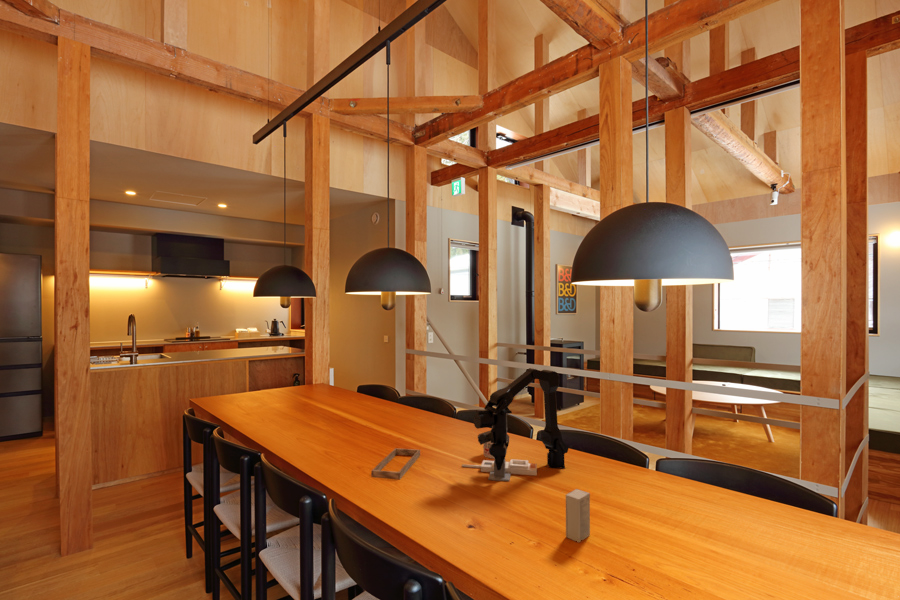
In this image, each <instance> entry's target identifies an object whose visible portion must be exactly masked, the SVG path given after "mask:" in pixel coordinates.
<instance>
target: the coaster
mask: <svg viewBox="0 0 900 600" xmlns="http://www.w3.org/2000/svg"><path fill="white" fill-rule="evenodd" d="M511 475H512V474H511V472H505V477H494V471H491V472H489V475H488V477H487V478H488V480H489V481H497V482H498V481H499V482H510V481H511Z"/></svg>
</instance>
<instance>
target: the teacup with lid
mask: <svg viewBox="0 0 900 600" xmlns="http://www.w3.org/2000/svg"><path fill="white" fill-rule="evenodd" d="M492 444H493V443H491V441H490V442H487V443H484V444H482V446H483V456H484V457H485V458H488V459H494V457H493V456H492V455H490V454H489V448H490V446H491V445H492Z"/></svg>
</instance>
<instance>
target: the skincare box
mask: <svg viewBox="0 0 900 600" xmlns="http://www.w3.org/2000/svg"><path fill="white" fill-rule="evenodd" d="M590 495H591V493H590V492H588V491H585V490H582V489H578V488H575V489H574V490H572V491H569V492H568V493H567V494H565V538H568V539H569V540H571V541H574V542H576V541H577V543H581V542H582V541H583V540H585V539H587V538H588V537H589V536H591V518H590V516H591V513H590V512H591V509H590V508H591V504H590V503H591V499H590ZM581 540H582V541H581Z"/></svg>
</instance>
